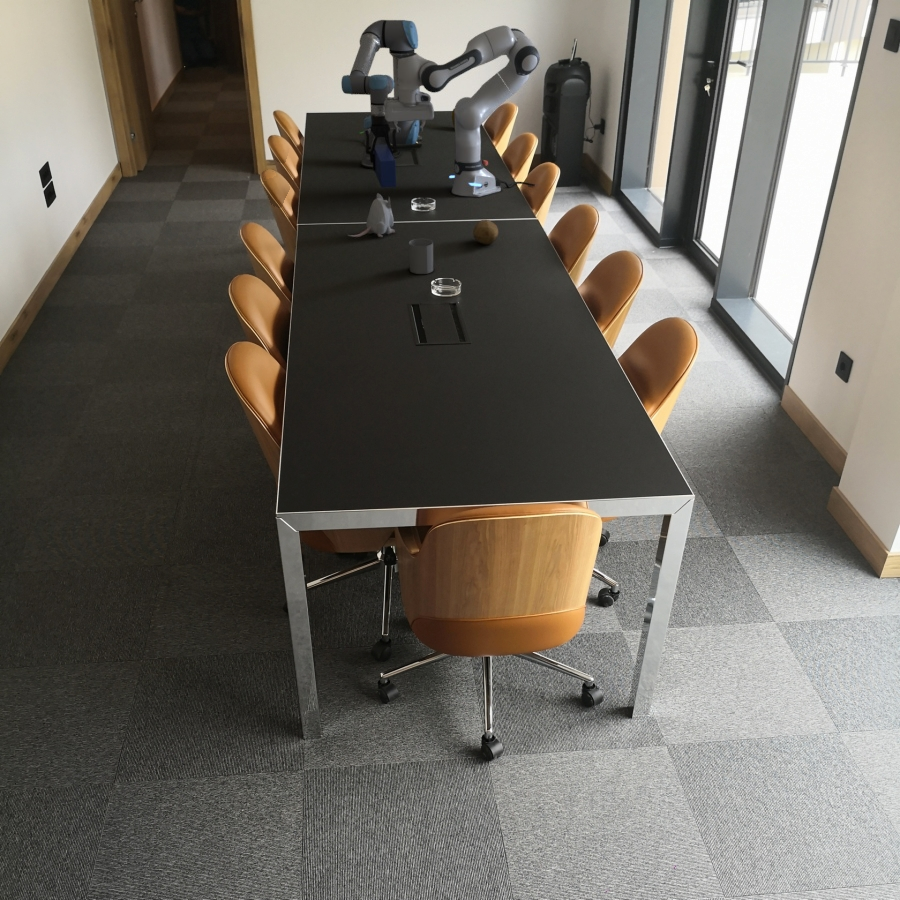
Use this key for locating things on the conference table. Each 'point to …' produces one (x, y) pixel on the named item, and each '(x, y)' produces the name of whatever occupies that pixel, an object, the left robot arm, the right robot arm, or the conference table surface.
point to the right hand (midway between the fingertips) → (409, 131)
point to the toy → (379, 218)
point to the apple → (453, 117)
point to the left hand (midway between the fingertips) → (381, 169)
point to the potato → (485, 232)
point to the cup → (421, 256)
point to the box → (385, 166)
